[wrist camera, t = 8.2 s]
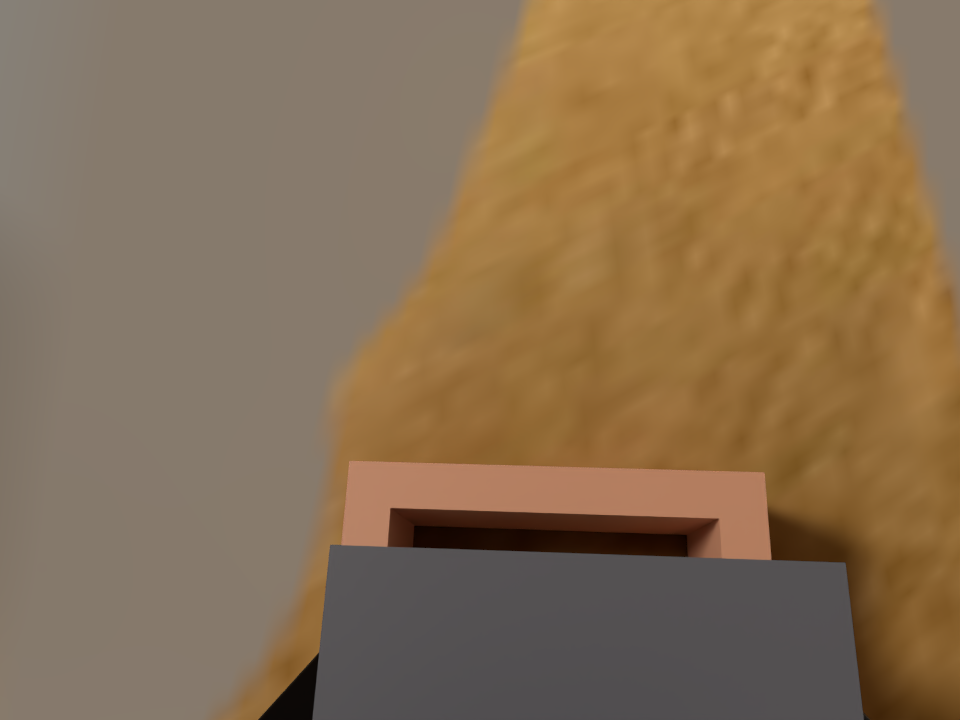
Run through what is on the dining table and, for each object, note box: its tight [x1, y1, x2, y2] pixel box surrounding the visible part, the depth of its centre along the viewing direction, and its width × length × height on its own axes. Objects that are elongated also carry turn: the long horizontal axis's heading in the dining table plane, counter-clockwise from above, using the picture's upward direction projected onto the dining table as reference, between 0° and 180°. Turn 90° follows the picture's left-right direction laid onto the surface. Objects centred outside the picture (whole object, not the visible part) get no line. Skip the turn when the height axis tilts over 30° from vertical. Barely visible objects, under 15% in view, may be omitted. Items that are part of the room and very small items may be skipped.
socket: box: [341, 461, 771, 560], centre depth 16 cm, size 9×9×4 cm
